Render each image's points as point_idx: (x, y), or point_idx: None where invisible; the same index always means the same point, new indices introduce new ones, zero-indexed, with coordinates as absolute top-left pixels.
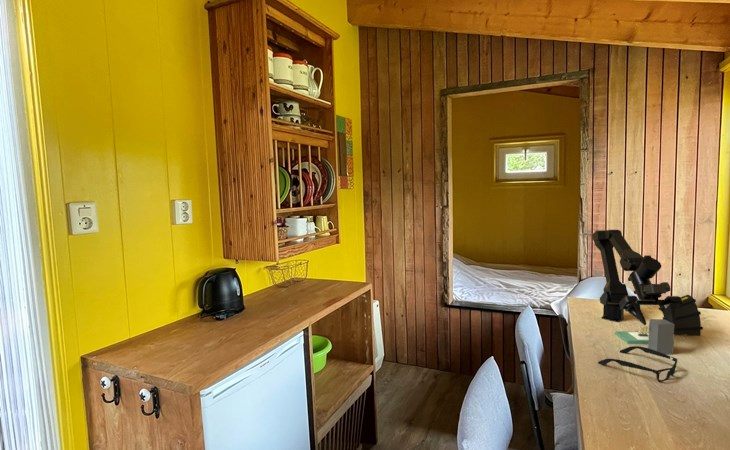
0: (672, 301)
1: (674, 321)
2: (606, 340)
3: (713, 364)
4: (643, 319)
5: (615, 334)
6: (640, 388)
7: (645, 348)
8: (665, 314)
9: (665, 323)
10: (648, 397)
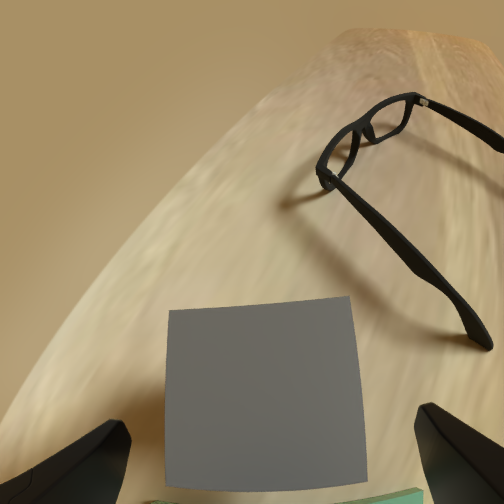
0: None
1: (97, 433)
2: None
3: (128, 275)
4: (457, 426)
5: None
6: None
7: (424, 260)
8: None
9: (249, 335)
10: (430, 84)
